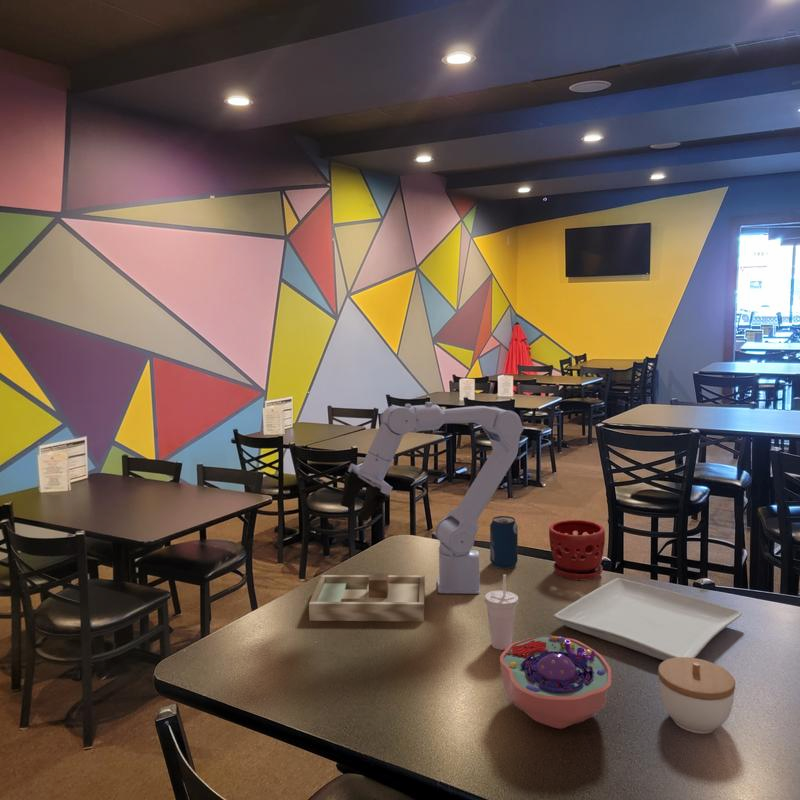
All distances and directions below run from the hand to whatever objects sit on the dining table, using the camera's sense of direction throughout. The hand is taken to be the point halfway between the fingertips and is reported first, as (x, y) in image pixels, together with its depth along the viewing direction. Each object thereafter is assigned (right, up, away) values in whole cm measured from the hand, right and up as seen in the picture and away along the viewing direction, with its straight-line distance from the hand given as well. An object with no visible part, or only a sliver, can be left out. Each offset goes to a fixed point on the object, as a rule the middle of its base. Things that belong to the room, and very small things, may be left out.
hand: (353, 512), depth 146 cm
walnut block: (+6, -18, 0) cm, 19 cm away
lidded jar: (+55, -25, -44) cm, 75 cm away
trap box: (+4, -20, 0) cm, 21 cm away
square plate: (+60, -22, -13) cm, 65 cm away
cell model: (+35, -25, -41) cm, 59 cm away
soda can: (+37, -17, +23) cm, 47 cm away
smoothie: (+30, -22, -19) cm, 42 cm away
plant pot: (+53, -18, +17) cm, 59 cm away
